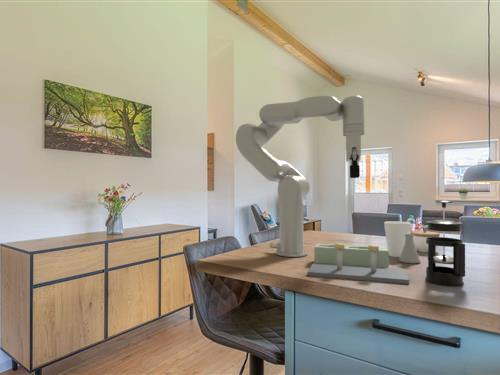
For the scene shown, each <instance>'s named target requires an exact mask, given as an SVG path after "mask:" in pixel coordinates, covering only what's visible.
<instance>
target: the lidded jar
mask: <svg viewBox="0 0 500 375" xmlns="http://www.w3.org/2000/svg"><path fill="white" fill-rule="evenodd" d="M410 234H414V236H413V241H414V245H415V248H416V251H417V252H421V253H428V244H427V243H426V238H428V237H441V236H440V233H439V232H438V231H431V230H430V231H429V230H428V231H427V228H423V229H422V230H413V231H410ZM438 247H439V246H436V249H437V248H438Z"/></svg>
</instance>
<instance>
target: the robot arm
mask: <svg viewBox="0 0 500 375" xmlns="http://www.w3.org/2000/svg"><path fill="white" fill-rule="evenodd" d="M364 105H365V103H364V98H363V97H362V96H360V95H351V96H350V95H349V96H347V97H344V99H343V100H342V101H340V100H338V99H337V98H336V97H334V96H332V95H318V96H317V95H315V96H309V97H305V98H302V99H298V100H297V101H287V102H280V103H279V102H277V103H267V104H265V105H263V106H262V107H261V108H260V110H259V114H258V116H259V119H260V121H261V123H260V124H259V125H256V124H253V123H244V124H241V125H240V126H238V129H237V130H236V134H235V145H236V147H237V150H238V151H239V153H240V154H241V155H242V157H244V158H245V160H246V161H247V162H248V163H249V164H251V166H253V167H254V169H255V170H257V172H259V173H260V174H261V175H262V176H263V177H264V178H265V179H266V180H267V181H269V182H277V184H278V185H277V196H278V205H279V206H278V207H279V209H278V210H279V215H278V216H279V241H278V242H270V243H269V249H276V250H275V254H276V255H277V256H280V257H287V258H299V257H306V256H307V255H308V250H306V249H304V202H303V198H305V197H306V196H307V195H308V194H309V192H310V189H311V188H310V183H309V180H308V179H307V178H306V177H305V176H304V175H302V174H301V173H300V172H299V171H298V170H297V169H296V168H295V167H293V166H292V165H291V164H290V163H289V162H287V161H285V160H283V159H278V158H276V157H274V155H272V154H270V152H268V151H267V150H266V149H265V148H264V147H263V146H264V145H266V144H267V143H268V142H269V141H271V139H272V138H273V137H274V136H275V135H277V133H278V132H279V131H280V130H281V129H282V128H283V126H284V125H290V124H298V123H300V122H301V121H302V120H303V119H304V120H305V119H308V118H317V117H324V118H325V119H327V120H328V121H330V122H337V121H341V120H342V136H343V137H345V161H346V163H350V165H349V178H350V179H358V178H360V173H361V172H360V163H359V162H361V157H362V156H361V155H362V136H363V135H365V106H364Z"/></svg>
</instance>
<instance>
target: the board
mask: <svg viewBox="0 0 500 375" xmlns="http://www.w3.org/2000/svg"><path fill="white" fill-rule="evenodd" d="M334 245H335V248H336V249H337V264H326V263H314V262H313V263H312V264H311V265H310V267H309V269H308V270H307V277H318V278H329V279H330V278H331V279H343V280H353V281H354V280H356V281H363V282H364V281H367V282H378V283H387V284H388V283H391V284H401V283H402V284H403V285H410V279H409V277H408V275H407V273H406V271H405V269H404V268H399V267H398V268H397V267H389V268H384V267H376V251H378V250H379V247H380V246H379V245H376V244H368V250H371V267H370V266H355V265H342V249H344V245H345V243H334ZM402 284H401V285H402Z"/></svg>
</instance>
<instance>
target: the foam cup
mask: <svg viewBox="0 0 500 375" xmlns="http://www.w3.org/2000/svg"><path fill="white" fill-rule="evenodd" d="M411 224H412V223H411V222H409V221H398V220H397V221H396V220H394V221H393V220H391V221H384V223H383V225H384V226H383V228H384V232H385V238H386V245H387V248H388V250H389V257H392V258H393V257H394V258H400V256H401V253H402V251H403V248H404V245H405V234H411V228H412V226H411Z"/></svg>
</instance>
